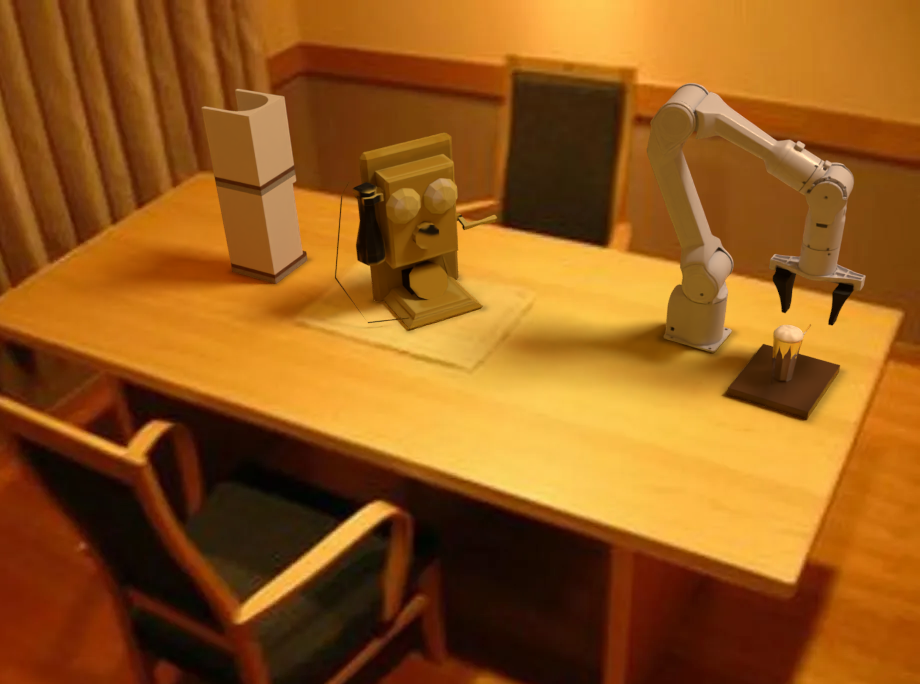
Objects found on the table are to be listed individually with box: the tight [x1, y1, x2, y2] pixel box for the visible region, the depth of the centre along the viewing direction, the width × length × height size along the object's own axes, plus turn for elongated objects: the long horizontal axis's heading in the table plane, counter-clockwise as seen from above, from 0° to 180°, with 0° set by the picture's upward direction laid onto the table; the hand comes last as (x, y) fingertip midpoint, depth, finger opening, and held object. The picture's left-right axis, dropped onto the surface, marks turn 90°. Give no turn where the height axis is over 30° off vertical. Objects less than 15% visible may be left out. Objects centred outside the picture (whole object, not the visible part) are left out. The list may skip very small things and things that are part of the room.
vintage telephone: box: [334, 132, 498, 330], centre depth 196 cm, size 31×14×30 cm, turn 114°
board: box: [727, 343, 841, 420], centre depth 175 cm, size 13×15×2 cm
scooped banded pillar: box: [201, 88, 308, 285], centre depth 212 cm, size 11×11×35 cm
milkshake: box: [772, 323, 812, 381], centre depth 172 cm, size 4×5×10 cm
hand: (808, 316), depth 176 cm, fingers open, 7 cm apart
